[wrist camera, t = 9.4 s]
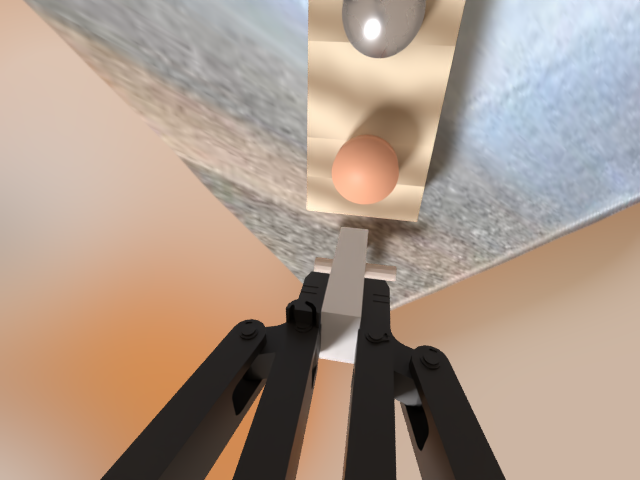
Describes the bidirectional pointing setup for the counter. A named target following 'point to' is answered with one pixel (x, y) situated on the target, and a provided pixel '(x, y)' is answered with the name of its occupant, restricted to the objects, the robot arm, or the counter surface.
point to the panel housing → (376, 104)
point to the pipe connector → (370, 269)
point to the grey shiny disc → (382, 25)
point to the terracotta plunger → (365, 169)
